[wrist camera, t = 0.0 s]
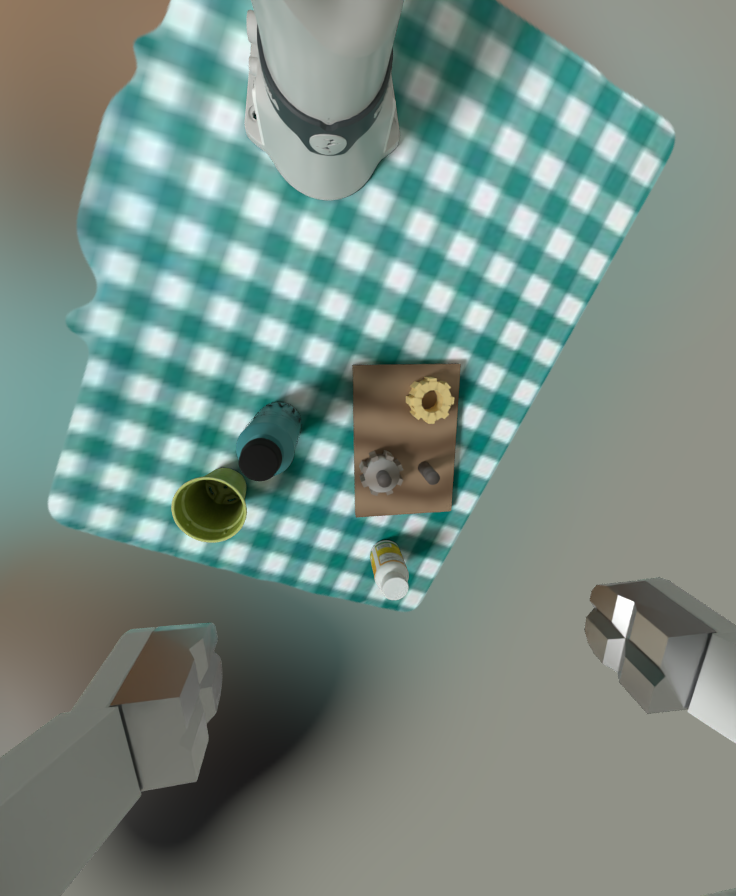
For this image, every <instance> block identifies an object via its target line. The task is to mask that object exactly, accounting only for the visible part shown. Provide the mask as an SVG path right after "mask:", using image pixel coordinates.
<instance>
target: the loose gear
mask: <svg viewBox="0 0 736 896" xmlns="http://www.w3.org/2000/svg"><path fill="white" fill-rule="evenodd" d="M410 387H411V388H412V389H411V391H410V392H409V394H411V395H409V396H406V403H407V404H409V406H410V408H411V411H410V413H411V414H412V415H413V416H414V417H415V418H416V419H418V420H419V419H420V418H422V419H423V420H424V421H425V422H426V423H428V424H435V421H436V420H439V419H440V418H443V419H445V418H446V417H447V416H448V415H449V413H448V411H449V409H450V406H451V404H454V397H452V396H451V393H450V391H449V389H450V388H451V387H450V386H449V385H448V384H447V383H446V382H443V381H439V382H437V378H434V377H424V380H421V381H420V382H416V381H414V382H413V383H412V384H411V385H410ZM430 390H434V391H435V393H436V395H437V401H436V403H435V405H434V406H433V407H431V408H430V409H424V408H423V407H422V398H423V396H424V394H425V393H427V392H428V391H430Z"/></svg>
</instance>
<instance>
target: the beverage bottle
mask: <svg viewBox="0 0 736 896" xmlns="http://www.w3.org/2000/svg"><path fill="white" fill-rule="evenodd" d="M260 410H261V409H260ZM258 413H259V412H258ZM258 413H257V414H258ZM257 414H256V415H257ZM256 415H255V416H256ZM252 420H253V421H251V423H250V424H247V425H248V426H247V428H246V427H245V430H244V431H243V432H242V433H241V434H240V436H239V438H238V440H237V444H236V453H237V457H238V460H239V467H240V469H241V471H242V473H243V474H244V475H245V476H246V477H248V478H249V479H252V480H255V481H265V480H267V479H270V478H271V477H273V476H275V475H278V474H280V473H282V472H283V471H285V470H286V469H287V468H288V467H289V465H290V464H291V462H292V460H293V457H294V453H295V446H296V445H297V443H296V442H297V440H298V436H299V434H300V433H301V432H300V430H301V429H302V428H301V426H302V425H301V420H302V419H301V418H300V416H299V414H298V412H297V410H295V408H294V407H292V406H290V405H289V404H286V403H283V402H280V401H279V402H278V401H276V402H275V403H273V402H272V403H271V404H270V403H269V404H268V405H266V406H265V407H263V409H262V410H261V411H260V413H259V414H258V415H257V416H256V417H254V418H253V419H252ZM300 428H301V429H300ZM299 432H300V433H299Z"/></svg>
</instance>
